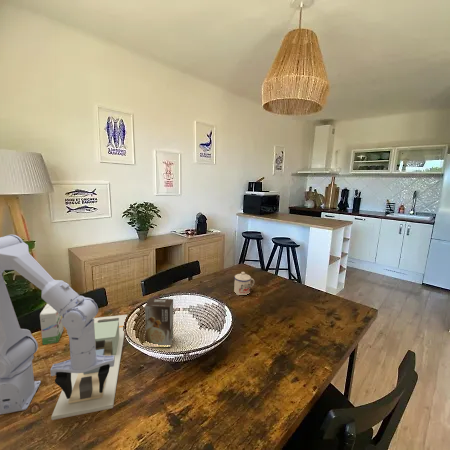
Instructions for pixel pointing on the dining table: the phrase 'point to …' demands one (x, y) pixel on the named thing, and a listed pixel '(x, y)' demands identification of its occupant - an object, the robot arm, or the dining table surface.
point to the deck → (109, 389)
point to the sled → (89, 379)
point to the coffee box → (159, 321)
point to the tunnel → (108, 333)
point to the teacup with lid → (242, 284)
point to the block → (98, 352)
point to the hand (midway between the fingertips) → (85, 392)
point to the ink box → (50, 325)
